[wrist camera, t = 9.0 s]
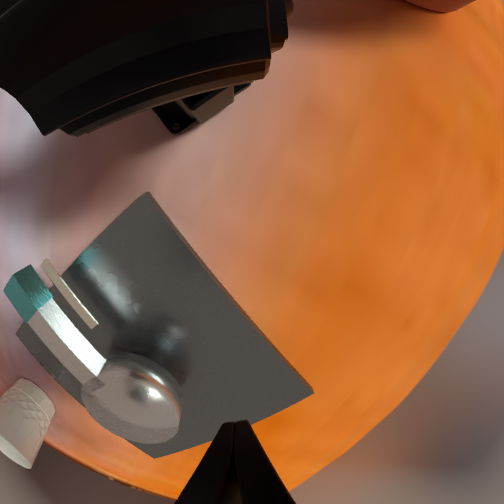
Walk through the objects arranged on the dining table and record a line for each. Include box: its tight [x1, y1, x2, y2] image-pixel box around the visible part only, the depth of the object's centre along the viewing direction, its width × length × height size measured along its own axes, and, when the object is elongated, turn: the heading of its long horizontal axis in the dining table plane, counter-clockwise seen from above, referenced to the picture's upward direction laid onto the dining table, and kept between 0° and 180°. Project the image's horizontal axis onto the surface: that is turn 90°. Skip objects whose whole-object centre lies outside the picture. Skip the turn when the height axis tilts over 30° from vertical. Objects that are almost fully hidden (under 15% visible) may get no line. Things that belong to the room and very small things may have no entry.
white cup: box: [0, 378, 56, 468], centre depth 19 cm, size 8×8×10 cm
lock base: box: [16, 192, 314, 459], centre depth 21 cm, size 24×22×2 cm
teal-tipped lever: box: [3, 264, 184, 444], centre depth 17 cm, size 17×8×3 cm, turn 35°
